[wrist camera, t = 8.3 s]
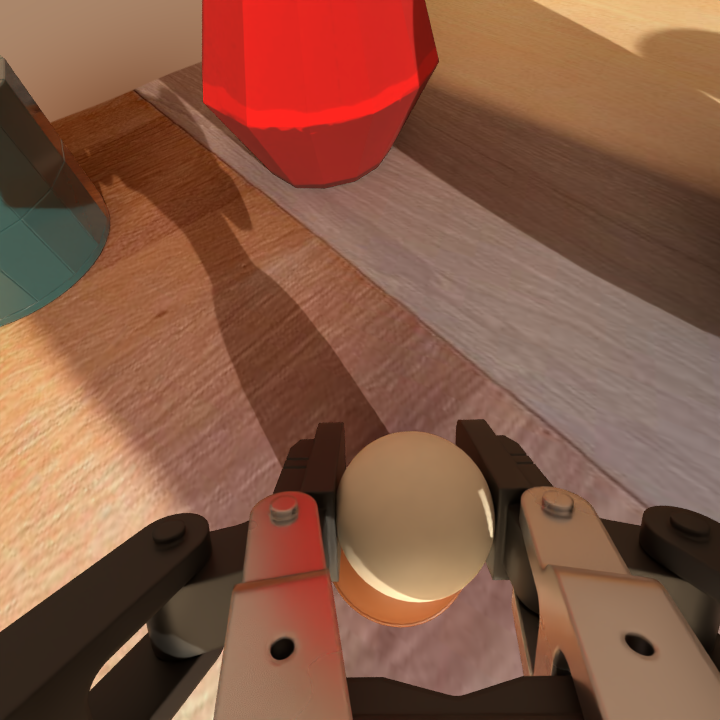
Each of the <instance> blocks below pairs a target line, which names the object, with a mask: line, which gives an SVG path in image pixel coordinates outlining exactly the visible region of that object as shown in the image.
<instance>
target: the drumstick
mask: <svg viewBox="0 0 720 720" xmlns="http://www.w3.org/2000/svg"><path fill="white" fill-rule="evenodd" d="M336 529H337V535H338V538H339V542H340V545H341V559H340V571H339V582H333V583H334V585H335V587H336V589H337V591H338V592H339V593H340V595H341V596H342V597H343V599H344V600H345V601H346V602H347V603H348V604H349V605H350V606H351V607H352V608H353V609H354V610H355V611H357V612H358V613H359V614H361V615H362V616H364V617H366V618H367V619H369V620H371V621H374V622H376V623H379V624H382V625H386V626H391V627H410V626H415V625H419V624H423V623H425V622H427V621H430V620H432V619H433V618H435V617H437V616H438V615H440V614H441V613H442V612H444V611H445V610H446V609H447V608H448V607H449V606H450V605H451V604H452V603H453V601H454V600H455V599H456V598H457V596H458V594H459V593H460V591H461V590H462V588H464V587H465V586H466V585H467V584H468V583H469V582H471V581H472V580H473V578H474V577H475V576H476V575H477V574H478V573H479V571H480V570H481V568H482V566H483V565H484V563H485V561H486V559H487V557H488V554H489V552H490V550H491V546H492V543H493V539H494V532H495V510H494V504H493V499H492V495H491V492H490V490H489V487H488V484H487V482H486V480H485V478H484V476H483V474H482V473H481V471H480V470H479V468H478V467H477V465H476V464H475V463H474V462H473V460H472V459H471V458H470V457H469V456H468V455H467V454H466V453H465V452H464V451H463V450H461V449H460V448H459V447H457V446H456V445H455V444H453V443H451V442H449V441H448V440H446V439H444V438H441V437H439V436H436V435H433V434H430V433H425V432H417V431H406V432H398V433H393V434H389V435H386V436H383V437H381V438H379V439H377V440H375V441H373V442H372V443H370V444H369V445H367V446H366V447H364V448H363V449H362V450H361V451H360V452H359V453H358V454H357V455H356V456H355V457H354V459H353V460H352V461H351V462H350V464H349V465H348V467H347V468H346V470H345V472H344V474H343V476H342V478H341V481H340V484H339V486H338V490H337V497H336Z"/></svg>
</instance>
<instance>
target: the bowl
mask: <svg viewBox="0 0 720 720" xmlns="http://www.w3.org/2000/svg"><path fill="white" fill-rule="evenodd" d="M109 229H110V216H109V212H108V208H107V207H106V205H105V203H104V201H103V198H102V196H101V194H100V193H99V192H98V190H97V189H96V187H95V186H94V185H93V183H92V182H91V180H90V179H89V178H88V176H87V175H86V173H85V172H84V170H83V169H82V168H81V166H80V165H79V163H78V162H77V161H76V159H75V158H74V156H73V155H72V153H71V152H70V151H69V149H68V148H67V146H66V145H65V144H64V142H63V141H62V139H61V138H60V136H59V135H58V134H57V132H56V131H55V129H54V128H53V126H52V125H51V124H50V122H49V121H48V119H47V118H46V117H45V115H44V114H43V112H42V111H41V110H40V108H39V107H38V105H37V104H36V102H35V101H34V100H33V98H32V97H31V95H30V94H29V93H28V91H27V90H26V88H25V87H24V86H23V84H22V83H21V81H20V80H19V78H18V77H17V76H16V75H15V73H14V71H13V70H12V68H11V67H10V66H9V64H8V63H7V61H6V60H5V59H4V58H3V57H2V56H1V55H0V327H1V326H3V325H6V324H9V323H12V322H14V321H16V320H18V319H21V318H23V317H25V316H27V315H29V314H31V313H33V312H35V311H37V310H38V309H40V308H42V307H44V306H45V305H47V304H48V303H50V302H52V301H53V300H55V299H56V298H58V297H59V296H60V295H62V294H63V293H64V292H65V291H67V290H68V289H69V288H71V287H72V286H73V285H74V284H75V283H76V282H77V281H78V280H79V279H80V278H81V277H83V275H84V274H85V273H86V272H87V271H88V270H89V269H90V268H91V266H92V265H93V264H94V262H95V261H96V259H97V258H98V257H99V255H100V253H101V251H102V250H103V248H104V246H105V243H106V241H107V238H108V235H109Z"/></svg>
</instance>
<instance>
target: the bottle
mask: <svg viewBox="0 0 720 720" xmlns="http://www.w3.org/2000/svg"><path fill="white" fill-rule="evenodd" d="M438 63H439V59H438V55H437V51H436V46H435V42H434V38H433V33H432V29H431V25H430V21H429V16H428V12H427V8H426V3H425V0H202V81H203V103H204V104H205V105H206V106H207V107H208V108H209V109H210V110H211V111H212V112H213V113H214V114H215V115H216V116H217V117H218V118H219V119H220V120H221V121H222V122H223V123H224V124H225V125H226V126H227V127H228V128H229V129H230V130H231V131H232V132H233V133H234V134H235V135H236V136H237V137H238V138H239V139H240V141H241V142H242V143H243V144H244V145H245V146H246V147H247V148H248V149H249V150H250V151H251V152H252V153H253V154H254V155H255V156H256V157H257V158H258V159H259V160H260V161H261V162H262V163H263V164H264V165H265V166H266V167H267V168H268V169H269V170H270V171H271V172H272V173H273V174H274V175H276V176H277V177H279V178H281V179H282V180H284V181H286V182H287V183H289V184H291V185H292V186H294V187H296V188H328V187H332V186H337V185H341V184H346V183H350V182H354V181H356V180H358V179H360V178H361V177H363V176H364V175H366V174H368V173H369V172H371V171H372V170H374V169H376V168H377V167H378V166H379V164H380V163H381V162H382V160H383V159H384V157H385V156H386V155H387V153H388V152H389V150H390V148H391V147H392V145H393V143H394V141H395V139H396V138H397V136H398V134H399V132H400V130H401V129H402V127H403V125H404V123H405V122H406V120H407V118H408V116H409V114H410V113H411V111H412V109H413V107H414V105H415V104H416V102H417V100H418V98H419V97H420V95H421V93H422V91H423V89H424V88H425V86H426V84H427V82H428V80H429V79H430V77H431V75H432V73H433V72H434V70H435V68H436V66H437V64H438Z"/></svg>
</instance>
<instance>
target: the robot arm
mask: <svg viewBox="0 0 720 720" xmlns="http://www.w3.org/2000/svg"><path fill="white" fill-rule="evenodd" d="M456 446H457V447H459V448H460V449H461V450H463V451H464V452H465V453H466V454H467V455H468V456H469V457H470V458H471V459H472V460H473V462H474V463H475V464H476V465H477V467H478V468H479V470H480V471H481V473H482V474H483V476H484V478H485V480H486V482H487V484H488V487H489V490H490V492H491V495H492V499H493V504H494V510H495V532H494V539H493V543H492V546H491V550H490V552H489V554H488V557H487V559H486V563H487V566H488V569H489V571H490V574H491V576H492V579H493V580H510V581H511V584H512V586H513V593H512V611H513V617H514V623H515V628H516V634H517V640H518V645H519V651H520V657H521V662H522V668H523V674H524V676H522V677H519V678H516V679H512V680H509V681H506V682H503V683H500V684H497V685H494V686H491V687H488V688H485V689H481V690H478V691H475V692H472V693H469V694H466V695H462V696H451V695H447V694H443V693H439V692H436V691H432V690H428V689H425V688H421V687H417V686H413V685H410V684H406V683H402V682H399V681H395V680H391V679H387V678H384V677H358V678H346V673H345V667H344V660H343V654H342V647H341V641H340V635H339V628H338V622H337V615H336V609H335V602H334V596H333V589H332V583H331V582H339V571H340V559H341V545H340V542H339V538H338V535H337V529H336V497H337V490H338V486H339V484H340V481H341V478H342V476H343V474H344V472H345V470H346V460H345V437H344V423H343V422H335V423H319V424H318V427H317V431H316V435H315V438H314V439H302V440H300V441H299V442H297V443H296V444H295V445H294V446H293V447H291V448H290V451H289V453H288V456H287V460H286V461H285V464H284V466H283V469H282V471H281V474H280V477H279V479H278V482H277V484H276V487H275V490H274V492H273V494H272V495H270V496H267V497H266V498H264V499H262V500H261V501H259V502H258V503H257V504H256V505H255V506H254V507H253V509H252V511H251V513H250V519H249V521H247V522H245V523H242V524H239V525H236V526H232V527H228V528H224V529H219V530H215V531H211V532H210V531H209V524H208V522H207V520H206V519H205V518H204V517H202V516H200V515H198V514H193V513H181V514H175V515H171V516H167V517H164V518H162V519H159V520H157V521H155V522H153V523H151V524H149V525H148V526H146V527H145V528H143V529H142V530H141V531H139V532H138V533H137V534H135V535H134V536H132V537H131V538H130V539H128V540H127V541H125V542H124V543H123V544H121V545H120V546H119V547H117V548H116V549H114V550H113V551H112V552H110V553H109V554H107V555H106V556H105V557H103V558H102V559H101V560H99V561H98V562H96V563H95V564H94V565H92V566H91V567H90V568H88V569H87V570H85V571H84V572H83V573H81V574H80V575H78V576H77V577H76V578H74V579H73V580H72V581H70V582H69V583H67V584H66V585H65V586H63V587H62V588H60V589H59V590H58V591H56V592H55V593H54V594H52V595H51V596H49V597H48V598H47V599H45V600H44V601H42V602H41V603H40V604H38V605H37V606H36V607H34V608H33V609H31V610H30V611H29V612H27V613H26V614H25V615H23V616H22V617H20V618H19V619H18V620H16V621H15V622H13V623H12V624H11V625H9V626H8V627H7V628H5V629H4V630H2V631H1V632H0V720H171V719H172V718H173V717H174V715H175V714H176V713H177V712H178V710H179V709H180V708H181V706H182V705H183V704H184V702H185V701H186V700H187V698H188V697H189V696H190V694H191V693H192V692H193V690H194V689H195V688H196V686H197V685H198V684H199V683H200V681H201V680H202V679H203V677H204V676H205V675H206V673H207V672H208V671H209V669H210V668H211V667H212V665H213V664H214V663H215V661H216V660H217V659H218V657H219V656H220V654H221V652H222V650H223V648H224V651H223V657H222V664H221V671H220V678H219V685H218V691H217V698H216V705H215V712H214V719H213V720H720V634H718V630H719V626H720V523H718V522H716V521H714V520H713V519H710V518H708V517H706V516H704V515H701V514H699V513H696V512H693V511H690V510H687V509H683V508H679V507H673V506H654V507H650V508H648V509H646V510H645V511H644V513H643V517H642V523H641V526H639V525H633V524H628V523H622V522H617V521H611V520H606V519H602V518H599V516H598V515H597V513H596V511H595V509H594V508H593V507H592V505H591V504H590V503H589V502H587V501H586V500H585V499H583V498H582V497H580V496H579V495H576V494H574V493H572V492H570V491H567V490H564V489H560V488H556V487H553V486H552V484H551V483H550V482H549V481H548V480H547V478H546V477H545V476H544V475H543V473H542V472H541V471H540V470H539V469H538V467H537V466H536V465H535V464H533V461H532V460H531V459H530V457H529V456H527V455H526V453H525V451H524V450H523V449H522V448H521V446H520V445H519V444H518V443H516V442H515V441H513V440H511V439H509V438H508V437H506V436H504V435H497V436H496V435H495V433H494V432H493V430H492V429H491V428H490V426H489V425H488V424H487V422H486V421H485V420H484V419H478V420H458V421H457V425H456ZM145 623H146V624H147V629H148V633H147V634H146V635H145V636H144V637H143V638H142V639H141V640H140V641H139V642H138V643H137V644H136V645H135V646H134V647H133V648H132V649H131V650H130V651H129V652H128V653H127V654H126V655H125V656H124V657H123V658H122V659H121V660H120V661H119V662H118V663H117V664H116V665H115V666H114V667H113V668H112V669H111V670H110V671H109V672H108V673H107V674H106V675H105V676H104V677H103V678H102V679H101V680H100V681H99V682H98V683H97V684H96V685H95V686H94V687H93V688H92V689H91V690H90V687H91V685H92V682H93V680H94V678H95V677H96V675H97V673H98V672H99V670H100V669H101V668H102V666H103V665H104V664H105V663H106V662H107V661H108V660H109V659H110V658H111V657H112V656H113V655H114V654H115V653H116V652H117V651H118V650H119V649H120V648H121V647H122V646H123V645H124V644H125V643H126V642H127V641H128V640H129V639H130V638H131V637H132V636H133V635H134V634H135V633H136V632H137V631H138V630H139V629H140V628H141V627H142V626H143V625H144V624H145ZM89 690H90V691H89Z"/></svg>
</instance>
